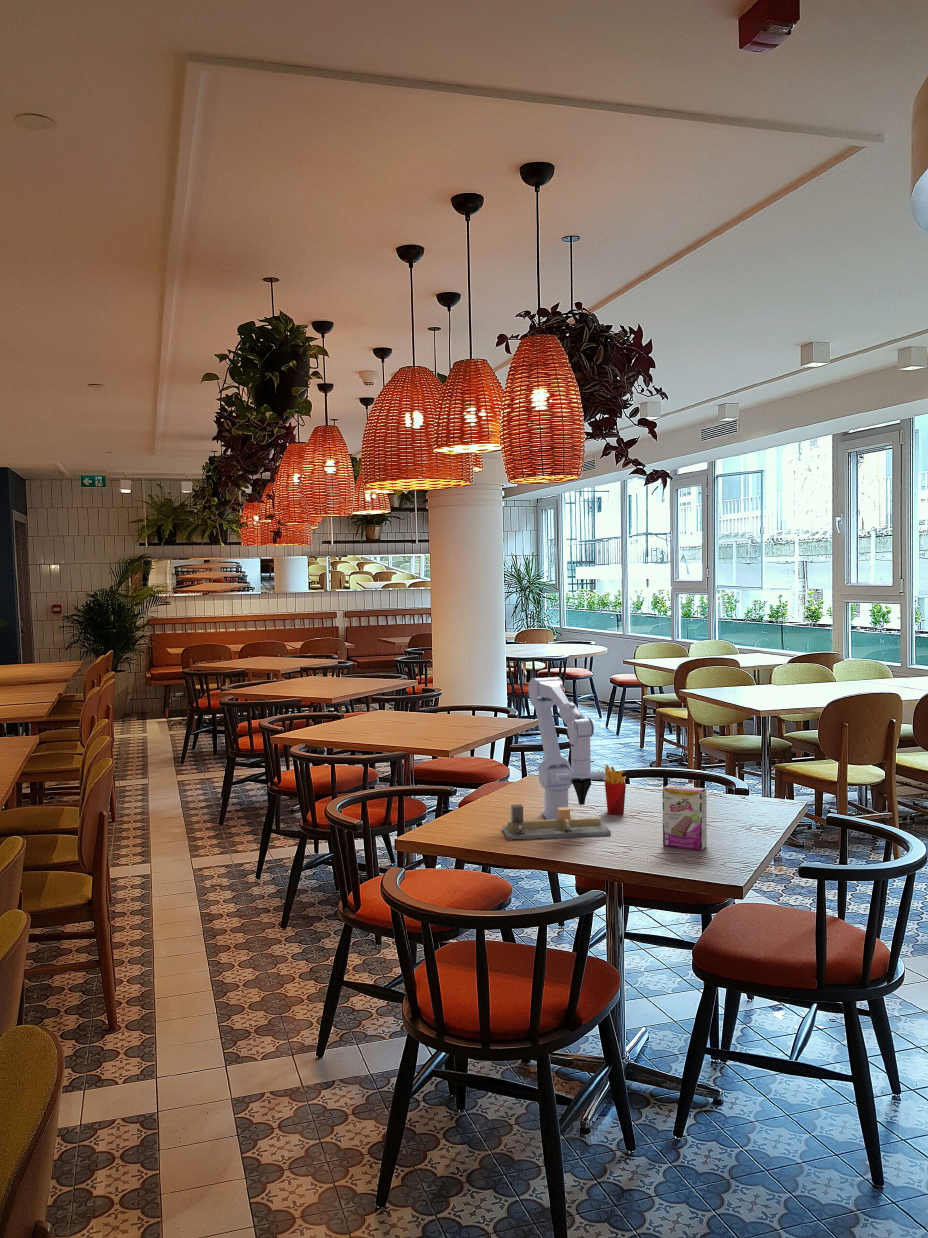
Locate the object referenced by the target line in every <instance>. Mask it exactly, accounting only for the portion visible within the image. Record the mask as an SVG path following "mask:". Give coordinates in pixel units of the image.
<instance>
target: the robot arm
mask: <svg viewBox="0 0 928 1238" xmlns="http://www.w3.org/2000/svg"><path fill="white" fill-rule="evenodd" d="M527 688H528V689H527V691H528V697H529V701H530V705H531V706H532V707H534V708H535V713H536V719H537V723H538V728H539V729H538V730H539V734H540V738H541V744H542V749H543V753H544V760H543V761H542V762H540V764H539V765H538V782H539V784H540V786H541V788H543V789H544V811H543V810H542V811H541V814H542V815H543V817H544V818H545V820H549V819H558V818H557V808H559V807H568V808H569V790H570V789H571V786H572V785H573V788H574V790H575V793H576V796H577V801H578V805H579V806H585V804H586V798H587V795H588V793H589V789H590V787H591V785H592V781H593V780H603V781H604V780H606V773H605V771H603V772H601V771H600V772H598V771H592V770H591V767H592V766H591V765H592V764H591V758H592V757H591V738H592V737H593V736H594V732H595V725H594V722H593V720H592V719H591V717H589V716H584V715H583V714H582V712H581V710H580V709H579V707H577V705H576V704H575V703H574V702H570V701H569V700H568V697H567V696H566V693H564V683H563V680H562V679H561V678H560V677H559V676H554V677H531V678H530V680H529V682H528V687H527ZM554 705H555V706H556V707H558V709H559V710H558V714H559V716H560V717H561V719H562V721H563V722H564V724H565V725H566V732H567V735H568V742H569V744H570V751H571V752H570V758H571V759H570V761H571V764H570V761H569V760H568V759H567V758H565V757H563V756H562V754H561V749H560V745H559V740H558V735H557V731H556V730H557V729H556V725H555V720H554V716H553V711H552V708H553V706H554ZM571 818H573V817H572V815H571V814H570V819H571Z"/></svg>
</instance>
